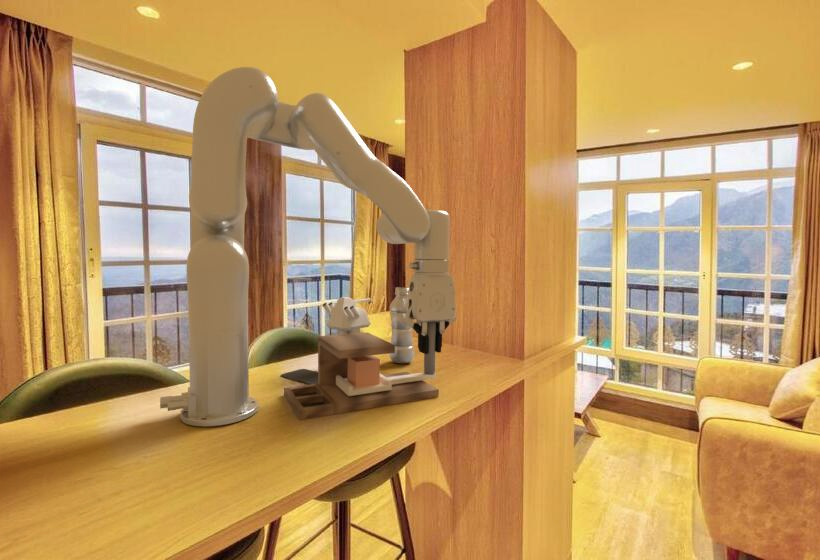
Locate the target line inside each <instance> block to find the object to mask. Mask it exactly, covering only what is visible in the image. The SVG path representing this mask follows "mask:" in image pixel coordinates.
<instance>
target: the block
mask: <svg viewBox="0 0 820 560" xmlns="http://www.w3.org/2000/svg"><path fill="white" fill-rule="evenodd" d="M380 364H381V359H380V358H379V357H377V356H376V355H370V356H361V357H351V358H348V381H349V382H350V383H351V384H353V385H354V386H355V387H362V386H369V385H376V384H380V374H381V368H380V367H381V365H380Z"/></svg>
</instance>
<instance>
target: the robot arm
mask: <svg viewBox="0 0 820 560" xmlns="http://www.w3.org/2000/svg"><path fill="white" fill-rule="evenodd" d="M248 139H252V140H256V141H261V142H265V143H269V144H273V145H278V146H283V147H287V148H293V149H297V150H298V149H299V150H305V151H314V152H315V153H316V154H317V156H318V157H319V158H320V159H321V161H322V162H323V163H324V164H325V165H326V167H327V168H328V170H330V172H331V173H332V174H333V175H334V177H335V178H336V180H337V181H338V182H339V183H340V184H342V185H343V186H344V187H346V188H348V189H350V190H352V191H355V192H357V193H359V194H361V195H363V196H364V197H366V198H367V199H369V200H370V201H371V202H372V203H373V204H374V205H375V206H377V208H378V209H379V210H380V211H381V214H380V215H379V216H378V218H377V220H376V226H375V228H376V232H377V235H378V236H379V237H380V239H381V240H383V241H384V242H385V243H388V244H391V245H401V244H402V245H403V244H414V254H413V255H414V257H413V258H414V259H413V262H409V263H408V268H409V269H410V270H413V273H412V274H411V275H410V279H409V284H408V288H409V290H408V299H407V314H406V317H405V319H404V324H406V325H408V326H410V327H412V330H413V331H414V332H416V334H417V348H418V352H419V353H422V354H423V355H424V354H428V353H429V336H428V335H427V322H431V321H436V343H435V353H442V348H443V347H442V346H443V335H444V334H445V332H446V331H445V330H447V328H448V327H449V326H450V325H452V324H453V323H455V322H456V321H457V317H456V312H457V311H456V304H457V303H456V290H455V282H454V277H453V274H450V271H449V270H450V236H451V235H450V232H451V231H450V228H451V226H450V225H451V217H450V214H449V213H448V212H447V211H445V210H438V209H426V208H425V206H424V205H423V203H422V201H421V200H420V199H419V197H418V196H417V194H416V193H415V192H414V190H413V189H412V188H411V187H410V185H409V184H408V183H407V182H406V181H405V180H404V179H403V178H402V177H401V176H400V175H399V174H397V173H396V172H395V171H393V170H392V169H391V168H390V167H389V166H387V165H386V164H385V163H384V162H382V161H381V160H379V159H378V158H377V157H376V156H375V154H373V153H372V151H371V150H370V149H369V147H368V146H367V145H366V143H365V142H364V141H363V139H362V138H361V137H360V135H359V134H358V133H357V131H356V130H355V129H354V127H353V126H352V125H351V123H350V121H349V120H348V119H347V117H346V116H345V115H344V114H343V112H342V111H341V110H340V108H339V107H338V106H337V104H336V103H335V102H334V101H333V99H331V97H329V96H327V95H326V94H323V93H320V92H314V93H309V94H307V95H306V96H304V97H302V98H300V100H299V101H298V102H297V104H296V105H293V104H290V103H284V102H281V101H279V95H278V90H277V88H276V85H275V83H274V82H273V79H272V78H271V77H270V76H269V75H268V74H267V73H266V72H264V71H263V70H261V69H258V67H257V68H256V67H252V66H241V67H235V68H231V69H230V70H227V71H225V72H223V73H221V74H219V75H218V76H216V77H214V79H213V80H212V81H210V83H209V84H208V85H207V87H206V88H205V89H204V91H203V92H202V95H201V96H200V98H199V100H198V103H197V106H196V108H195V112H194V117H193V124H192V143H191V145H192V146H191V165H190V166H191V168H190V169H191V172H190V173H191V175H190V176H191V177H190V179H191V180H190V190H189V193H188V194H189V195H188V203H189V207H190V250H189V252H188V255H187V260H186V287H187V309H188V310H187V312H188V313H187V314H188V316H187V317H188V343H189V344H188V347H189V348H188V350H189V351H188V353H189V355H188V356H189V360H188V361H189V386H188V387H187V392H186V391H185V392H181V394H178V395H168V396H160V397H159V407H160V410H161V409H167V411H168V412H169V411H176V410H180V413H179V416H180V417H179V419H180V421H181V422H183V424H186V425H189V426H193V427H217V426H219V427H220V426H224V425H225V426H226V425H230V424H235V423H238V422H241V421H244V420H246V419H248V418H251V416H254V415H255V414H256V412H257V411H258V409H259V402H258V401H257V399H255V398H254V397H251V396H249V395H250V394H249V391H250V389H249V384H250V383H249V376H250V375H249V283H250V264H249V257H248V255H247V252H246V250H245V221H246V219H245V218H246V211H247V208H248V197H247V188H246V187H247V185H246V182H247V181H246V176H247V174H246V172H247V171H246V170H247V169H246V165H247V163H246V162H247V144H248V143H247V141H248ZM415 320H416V321H415Z"/></svg>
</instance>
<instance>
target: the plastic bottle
mask: <svg viewBox="0 0 820 560" xmlns="http://www.w3.org/2000/svg"><path fill="white" fill-rule="evenodd" d="M408 290H409V286H408V287H406V286H402V287H401V286H398V287H397V286H396V287H395V290H394V291H395V292H394V295H395V297H394V299H392V301H391V303H390V305H389V315H390V321H391V335H390V336H391V338H390V343H391V344H394V345H395V353H389V358H390V360H391V362H393V363H396V364H409V363H411V362H412V361H413V359H414V358H415V348H414V345H413V344H414V343H413V341H414V340H413V328H412V327H410V326H408V325H406V324H404V319H405V317H406V314H407V299H408Z"/></svg>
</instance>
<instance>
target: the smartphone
mask: <svg viewBox="0 0 820 560" xmlns="http://www.w3.org/2000/svg"><path fill="white" fill-rule="evenodd" d="M280 378H283V379H288V380H291V381H294V382H297V383H301V384H303V383H304V384H303V385H306V384H307V385H310V384H318V371H315V370H311V369H307V368H299V369H296V370H295V369H294V370H292V371H288V372H284V373H281V374H280Z"/></svg>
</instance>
